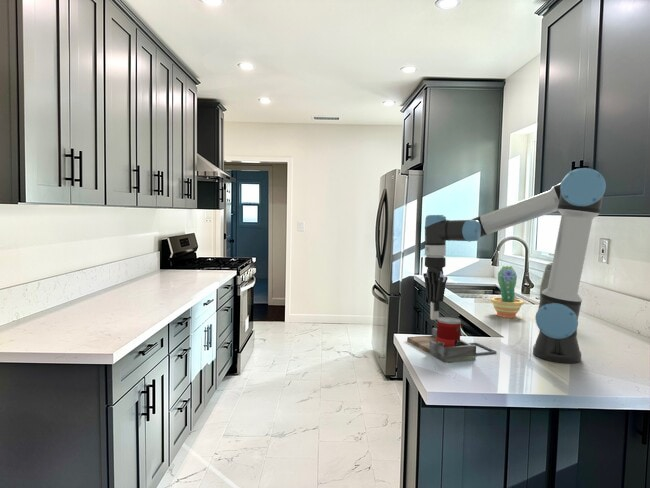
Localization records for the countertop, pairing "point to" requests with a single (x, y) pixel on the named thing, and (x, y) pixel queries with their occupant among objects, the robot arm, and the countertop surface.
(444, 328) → the canned food
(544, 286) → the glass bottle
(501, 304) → the potted cactus
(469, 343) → the frame
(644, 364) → the countertop surface
